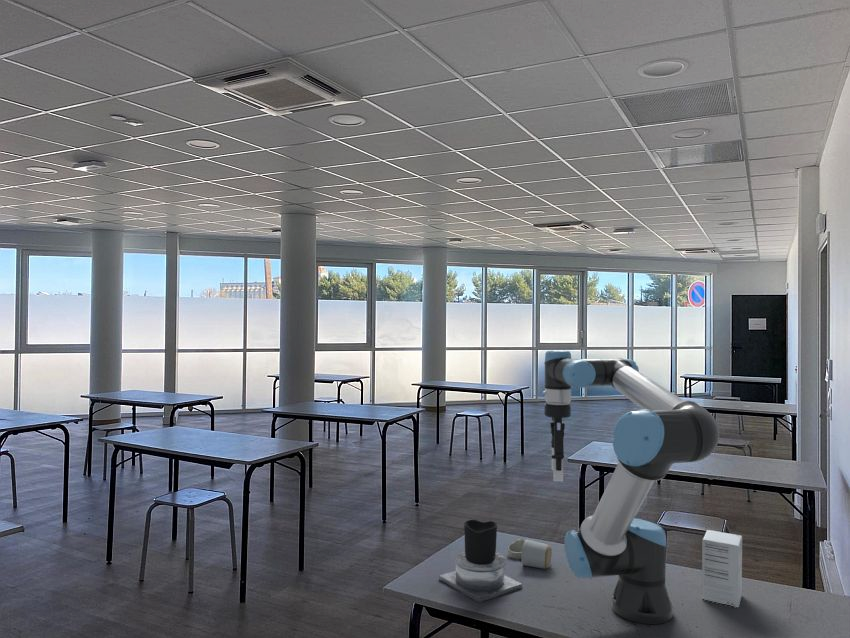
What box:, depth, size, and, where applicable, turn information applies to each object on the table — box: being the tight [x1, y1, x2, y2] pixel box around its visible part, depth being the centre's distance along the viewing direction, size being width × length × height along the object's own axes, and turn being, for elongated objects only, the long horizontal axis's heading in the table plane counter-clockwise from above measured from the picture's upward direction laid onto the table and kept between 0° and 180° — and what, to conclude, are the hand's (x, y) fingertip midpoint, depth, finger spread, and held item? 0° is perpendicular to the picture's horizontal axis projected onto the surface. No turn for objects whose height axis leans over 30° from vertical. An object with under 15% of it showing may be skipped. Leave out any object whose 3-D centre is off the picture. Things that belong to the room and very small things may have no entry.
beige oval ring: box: [507, 538, 526, 560], centre depth 202 cm, size 9×6×5 cm
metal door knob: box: [438, 550, 523, 603], centre depth 180 cm, size 18×16×7 cm
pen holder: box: [463, 519, 498, 564], centre depth 180 cm, size 9×9×10 cm
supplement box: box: [701, 529, 743, 608], centre depth 172 cm, size 10×9×17 cm
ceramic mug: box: [520, 538, 553, 570], centre depth 194 cm, size 11×8×8 cm
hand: (557, 475), depth 182 cm, fingers open, 13 cm apart
